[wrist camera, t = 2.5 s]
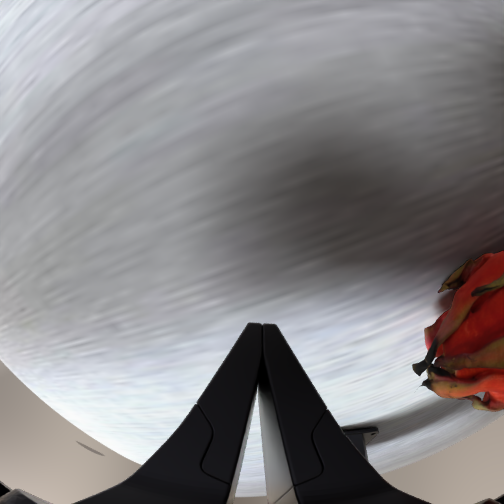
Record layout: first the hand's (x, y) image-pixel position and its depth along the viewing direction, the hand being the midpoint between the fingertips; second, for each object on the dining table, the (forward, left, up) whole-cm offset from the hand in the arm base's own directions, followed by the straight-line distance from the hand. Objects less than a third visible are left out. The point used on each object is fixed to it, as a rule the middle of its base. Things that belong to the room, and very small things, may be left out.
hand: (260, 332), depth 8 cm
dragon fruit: (0, -12, -3) cm, 12 cm away
